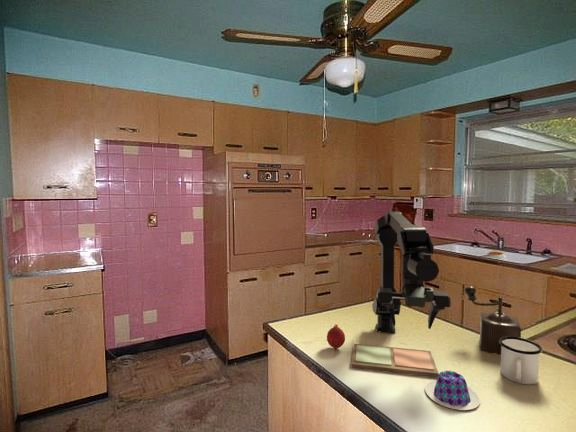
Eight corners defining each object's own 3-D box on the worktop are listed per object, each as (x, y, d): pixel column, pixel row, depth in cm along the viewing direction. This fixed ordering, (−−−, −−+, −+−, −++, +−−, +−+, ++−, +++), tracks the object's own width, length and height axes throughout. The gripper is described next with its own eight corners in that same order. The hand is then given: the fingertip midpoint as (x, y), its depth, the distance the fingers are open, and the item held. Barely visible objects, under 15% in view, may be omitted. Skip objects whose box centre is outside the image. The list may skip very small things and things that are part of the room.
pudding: (462, 382, 87) (463, 363, 86) (491, 412, 75) (491, 390, 74) (417, 383, 87) (417, 363, 86) (438, 413, 75) (438, 391, 74)
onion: (344, 354, 102) (344, 328, 101) (326, 352, 103) (326, 327, 103) (345, 345, 108) (345, 321, 107) (327, 344, 109) (327, 320, 108)
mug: (499, 363, 95) (500, 333, 95) (540, 373, 90) (541, 341, 89) (495, 383, 86) (496, 349, 85) (541, 396, 80) (543, 360, 79)
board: (353, 347, 106) (353, 342, 106) (430, 354, 101) (430, 350, 101) (351, 367, 94) (351, 362, 94) (438, 377, 88) (438, 372, 88)
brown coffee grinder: (516, 343, 107) (518, 289, 106) (521, 359, 98) (523, 299, 96) (462, 334, 115) (463, 283, 114) (462, 347, 105) (463, 292, 104)
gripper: (378, 277, 86) (377, 335, 87) (456, 281, 81) (455, 343, 82) (377, 268, 97) (377, 320, 98) (446, 271, 92) (445, 325, 93)
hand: (411, 326), depth 92 cm, fingers open, 9 cm apart
